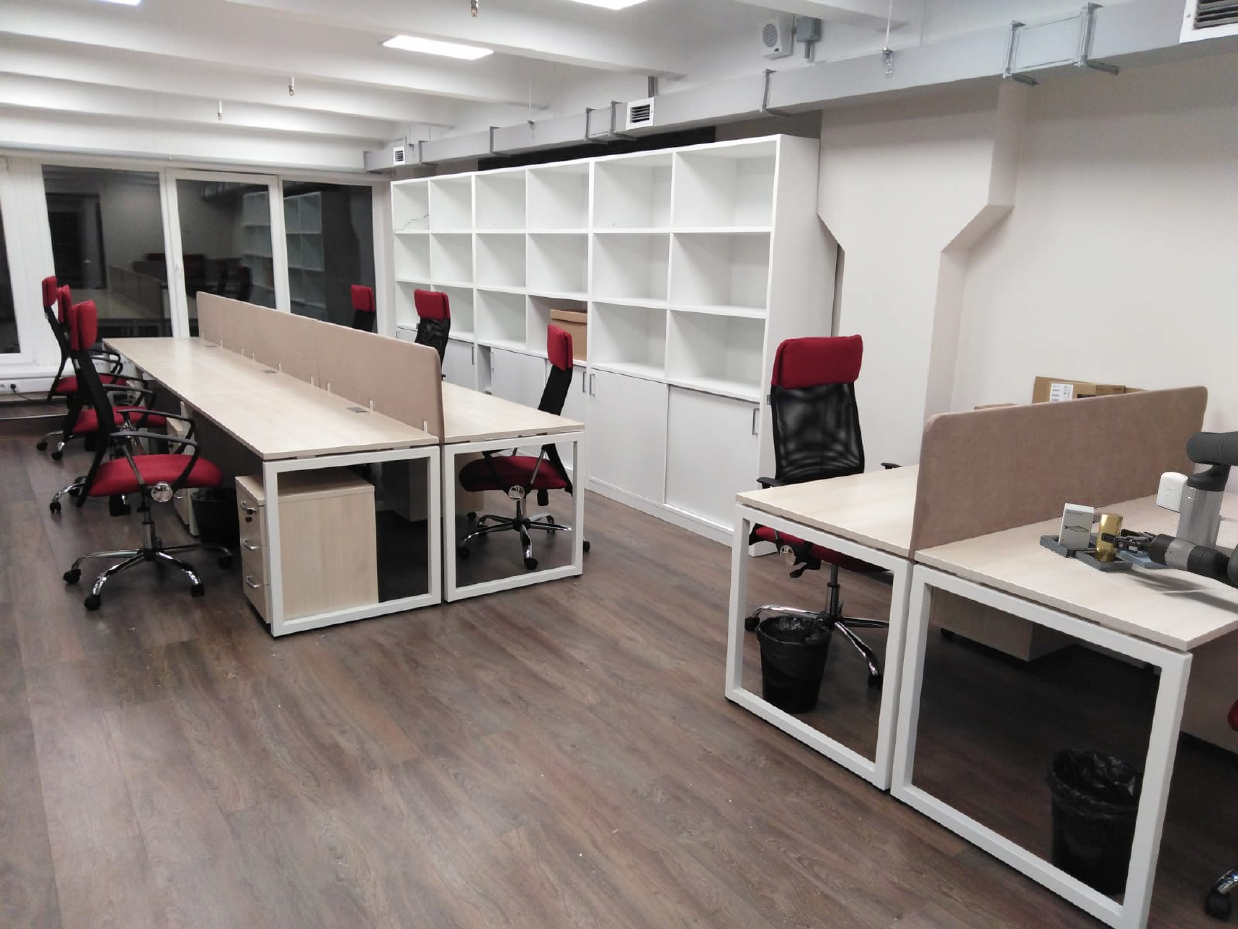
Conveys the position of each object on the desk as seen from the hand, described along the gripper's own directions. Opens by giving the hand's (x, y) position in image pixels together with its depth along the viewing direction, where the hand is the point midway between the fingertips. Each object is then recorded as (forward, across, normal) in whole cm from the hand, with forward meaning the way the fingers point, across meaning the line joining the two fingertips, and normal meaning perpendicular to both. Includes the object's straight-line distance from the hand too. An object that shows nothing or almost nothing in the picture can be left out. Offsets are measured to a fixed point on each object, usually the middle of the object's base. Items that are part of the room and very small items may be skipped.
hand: (1111, 534), depth 228 cm
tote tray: (-3, -14, +9) cm, 17 cm away
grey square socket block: (+9, -16, +9) cm, 20 cm away
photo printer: (+26, -80, +9) cm, 85 cm away
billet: (+1, 0, +9) cm, 9 cm away
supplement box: (+12, -4, +9) cm, 16 cm away
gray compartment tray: (+7, -2, +9) cm, 11 cm away
